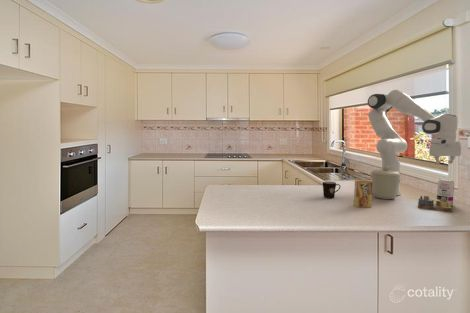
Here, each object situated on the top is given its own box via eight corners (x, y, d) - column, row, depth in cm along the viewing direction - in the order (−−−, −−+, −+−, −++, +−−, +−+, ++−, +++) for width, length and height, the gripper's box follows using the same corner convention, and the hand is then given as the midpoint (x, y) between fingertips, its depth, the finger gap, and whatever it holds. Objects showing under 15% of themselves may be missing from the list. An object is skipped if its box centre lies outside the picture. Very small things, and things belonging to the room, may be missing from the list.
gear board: (418, 207, 174) (418, 196, 174) (418, 204, 183) (418, 193, 182) (452, 212, 166) (453, 200, 165) (450, 208, 175) (451, 197, 174)
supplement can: (449, 203, 186) (451, 179, 185) (455, 206, 178) (457, 181, 177) (434, 202, 189) (436, 178, 187) (439, 205, 181) (441, 180, 179)
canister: (392, 195, 208) (394, 164, 206) (404, 201, 190) (406, 168, 188) (365, 194, 210) (367, 164, 208) (375, 200, 192) (376, 167, 190)
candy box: (368, 205, 178) (370, 180, 177) (371, 207, 174) (372, 181, 173) (353, 205, 179) (354, 179, 177) (355, 207, 174) (357, 180, 173)
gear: (418, 204, 175) (419, 196, 175) (418, 202, 181) (418, 194, 181) (433, 206, 171) (434, 198, 171) (433, 203, 178) (433, 196, 177)
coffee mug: (322, 198, 196) (322, 183, 195) (321, 195, 204) (322, 181, 204) (341, 199, 193) (341, 184, 192) (339, 196, 202) (340, 181, 201)
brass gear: (435, 206, 171) (436, 201, 171) (435, 203, 177) (435, 198, 177) (451, 208, 167) (452, 203, 167) (450, 205, 173) (450, 200, 173)
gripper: (455, 140, 187) (453, 162, 189) (428, 140, 183) (426, 162, 184) (465, 141, 181) (462, 164, 183) (437, 140, 177) (435, 164, 178)
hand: (444, 163), depth 184 cm, fingers open, 8 cm apart
